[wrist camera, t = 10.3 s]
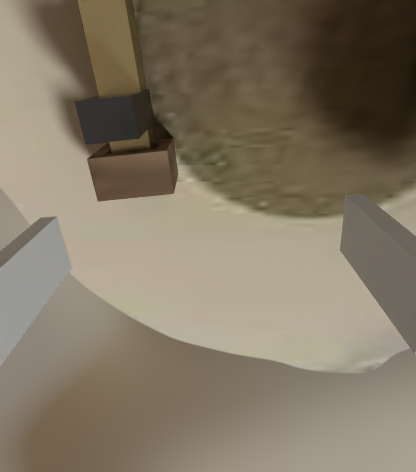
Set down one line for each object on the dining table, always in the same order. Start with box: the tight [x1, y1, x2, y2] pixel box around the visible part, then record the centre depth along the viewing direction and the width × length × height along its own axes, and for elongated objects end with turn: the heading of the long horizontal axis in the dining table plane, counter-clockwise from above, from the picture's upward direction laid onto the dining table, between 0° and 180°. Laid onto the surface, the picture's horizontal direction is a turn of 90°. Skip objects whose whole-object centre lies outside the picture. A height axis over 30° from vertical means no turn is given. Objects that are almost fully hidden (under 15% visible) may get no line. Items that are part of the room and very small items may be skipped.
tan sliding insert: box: [75, 0, 157, 154], centre depth 27 cm, size 18×4×9 cm, turn 6°
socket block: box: [87, 138, 178, 201], centre depth 33 cm, size 4×7×6 cm, turn 96°
